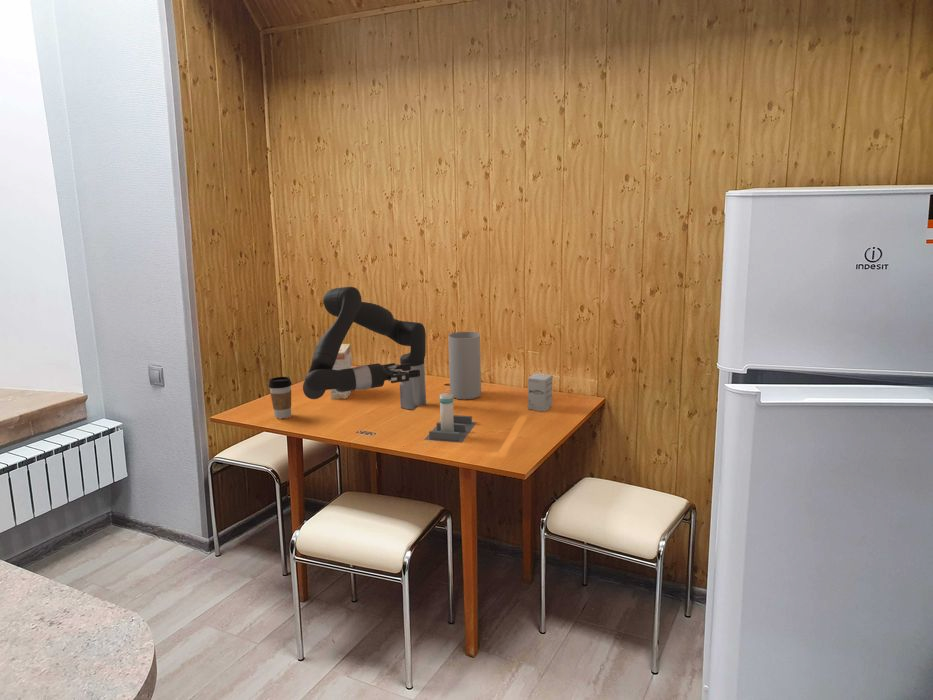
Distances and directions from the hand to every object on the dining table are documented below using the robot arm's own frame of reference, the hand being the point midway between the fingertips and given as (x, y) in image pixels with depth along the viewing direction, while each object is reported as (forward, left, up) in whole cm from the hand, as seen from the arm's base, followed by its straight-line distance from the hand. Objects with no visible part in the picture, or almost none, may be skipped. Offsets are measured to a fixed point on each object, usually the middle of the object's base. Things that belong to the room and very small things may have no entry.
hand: (414, 369), depth 236 cm
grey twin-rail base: (+8, +11, -26) cm, 29 cm away
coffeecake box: (-50, +48, -26) cm, 74 cm away
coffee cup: (-60, +17, -26) cm, 67 cm away
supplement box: (+33, +45, -26) cm, 62 cm away
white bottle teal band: (+8, +7, -24) cm, 26 cm away
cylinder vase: (+1, +55, -26) cm, 61 cm away
